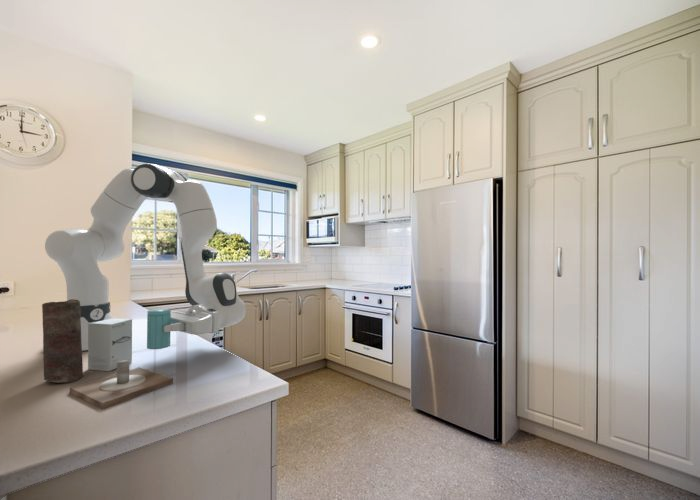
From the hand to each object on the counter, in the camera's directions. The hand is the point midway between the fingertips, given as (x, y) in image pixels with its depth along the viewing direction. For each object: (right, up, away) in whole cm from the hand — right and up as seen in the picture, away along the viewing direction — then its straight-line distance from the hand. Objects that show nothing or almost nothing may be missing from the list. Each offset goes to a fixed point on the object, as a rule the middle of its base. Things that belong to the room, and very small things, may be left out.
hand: (155, 327), depth 92 cm
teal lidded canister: (0, -6, +1) cm, 6 cm away
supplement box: (-13, -11, +1) cm, 17 cm away
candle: (-18, -11, -9) cm, 23 cm away
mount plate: (0, -11, -14) cm, 18 cm away
